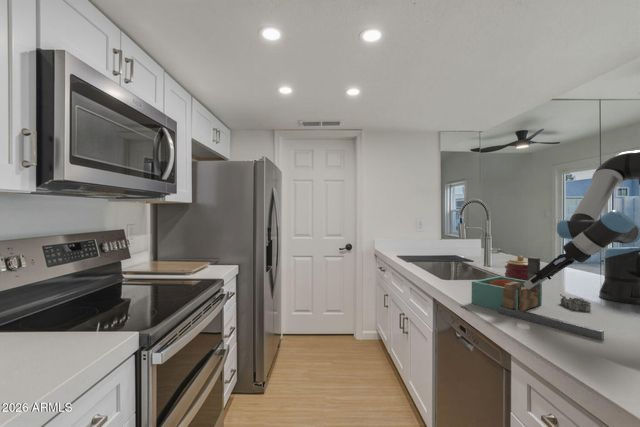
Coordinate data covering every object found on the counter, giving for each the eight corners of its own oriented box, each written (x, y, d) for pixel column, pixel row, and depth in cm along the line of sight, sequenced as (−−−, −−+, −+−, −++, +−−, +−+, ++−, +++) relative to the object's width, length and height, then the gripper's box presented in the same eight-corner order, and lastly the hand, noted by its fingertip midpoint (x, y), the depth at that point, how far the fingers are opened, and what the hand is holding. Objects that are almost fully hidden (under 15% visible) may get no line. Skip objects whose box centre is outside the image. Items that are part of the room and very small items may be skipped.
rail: (501, 312, 116) (501, 305, 116) (603, 338, 92) (603, 330, 92) (498, 312, 115) (498, 306, 115) (601, 340, 91) (601, 331, 91)
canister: (500, 288, 154) (500, 253, 154) (529, 290, 151) (529, 254, 151) (510, 295, 141) (510, 256, 141) (542, 297, 138) (542, 257, 138)
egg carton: (558, 303, 130) (558, 293, 130) (580, 305, 128) (580, 295, 128) (569, 310, 120) (570, 300, 120) (593, 312, 117) (593, 302, 117)
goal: (498, 295, 140) (498, 276, 140) (541, 305, 126) (541, 283, 126) (471, 303, 128) (471, 281, 128) (515, 314, 114) (516, 290, 114)
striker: (531, 303, 126) (531, 255, 126) (546, 307, 122) (547, 256, 122) (503, 313, 114) (503, 259, 114) (519, 317, 109) (519, 261, 109)
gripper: (583, 257, 100) (526, 297, 113) (599, 254, 109) (544, 291, 122) (563, 240, 104) (511, 280, 118) (580, 238, 113) (529, 276, 127)
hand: (528, 286), depth 120 cm, fingers closed on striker, 3 cm apart
